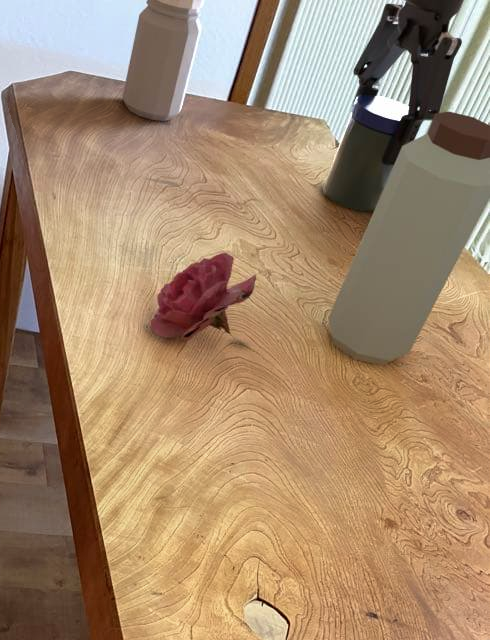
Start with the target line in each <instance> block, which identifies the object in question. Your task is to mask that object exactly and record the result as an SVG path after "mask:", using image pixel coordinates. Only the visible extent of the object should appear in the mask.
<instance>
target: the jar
mask: <svg viewBox="0 0 490 640" xmlns="http://www.w3.org/2000/svg"><path fill="white" fill-rule="evenodd" d="M204 2H205V0H146V5H147V6H146V7H144V9H143V10H142V11H141V12H140V13H139V15H138V19H137V23H136V24H137V25H136V28H135V34H134V39H133V44H132V47H131V48H132V49H131V54H130V58H129V64H128V68H127V73H126V74H127V75H126V77H125V82H124V88H123V93H122V100H123V102H124V104H125V106H126V108H127V109H128V111H129V112H131V113H133V114H135V115H136V116H138V117H141V118H145V119H149V120H151V121H161V122H165V121H170V120H173V119H175V118H176V117H177V116H178V115H179V114H180V113H181V110H182V108H183V104H184V100H185V96H186V92H187V89H188V85H189V81H190V76H191V72H192V69H193V65H194V62H195V61H194V60H195V57H196V52H197V48H198V44H199V41H200V36H201V33H202V29H203V28H202V24H201V21H200V17H201V15H202V11H200V9H201V8H203V6H204Z"/></svg>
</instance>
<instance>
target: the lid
mask: <svg viewBox="0 0 490 640" xmlns="http://www.w3.org/2000/svg"><path fill="white" fill-rule="evenodd" d="M352 105H353V104H352ZM408 109H409V105H406V104H404V103H402V102H400V101H397V100H395V99H393V98H389V97H384V96H381V95H377V96H375V95H361V96H358V97H357V98H356V101H355V102H354V105H353V107H352V108H351V110H350V114H351V113H352V116H353V117H354V118H355V119H356V120H357V121H359V122H360V123H362V124H364V125H365V126H367V127H370V128H372V129H374V130H377V131H380V132H384V133H388V134H393V135H394V134H395V132H396V129H397V127H398V125H399V122H400V120H401V118H402V116H404V115H407V114H408Z"/></svg>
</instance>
